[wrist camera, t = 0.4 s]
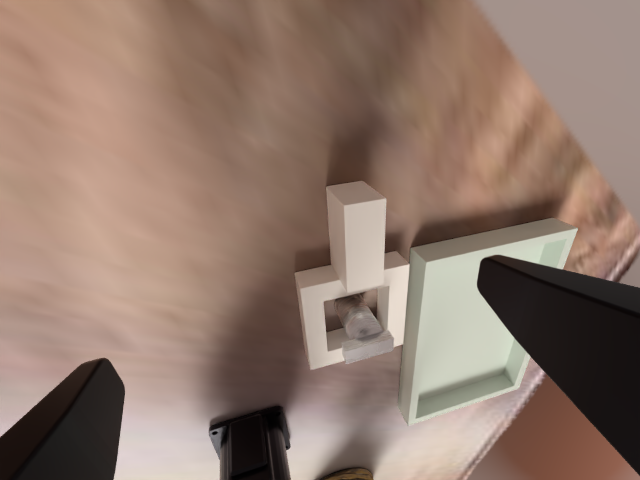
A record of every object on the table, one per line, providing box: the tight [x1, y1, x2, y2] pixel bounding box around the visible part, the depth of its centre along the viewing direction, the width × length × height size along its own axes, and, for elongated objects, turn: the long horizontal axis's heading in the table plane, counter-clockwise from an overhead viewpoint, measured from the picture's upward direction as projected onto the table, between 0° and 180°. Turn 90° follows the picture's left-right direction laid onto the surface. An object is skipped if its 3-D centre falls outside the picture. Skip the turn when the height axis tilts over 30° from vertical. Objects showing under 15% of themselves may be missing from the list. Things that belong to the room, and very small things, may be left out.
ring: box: [294, 181, 410, 370], centre depth 22 cm, size 14×8×4 cm, turn 4°
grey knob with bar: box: [334, 293, 394, 364], centre depth 23 cm, size 2×3×5 cm
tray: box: [398, 218, 578, 426], centre depth 29 cm, size 20×14×2 cm
